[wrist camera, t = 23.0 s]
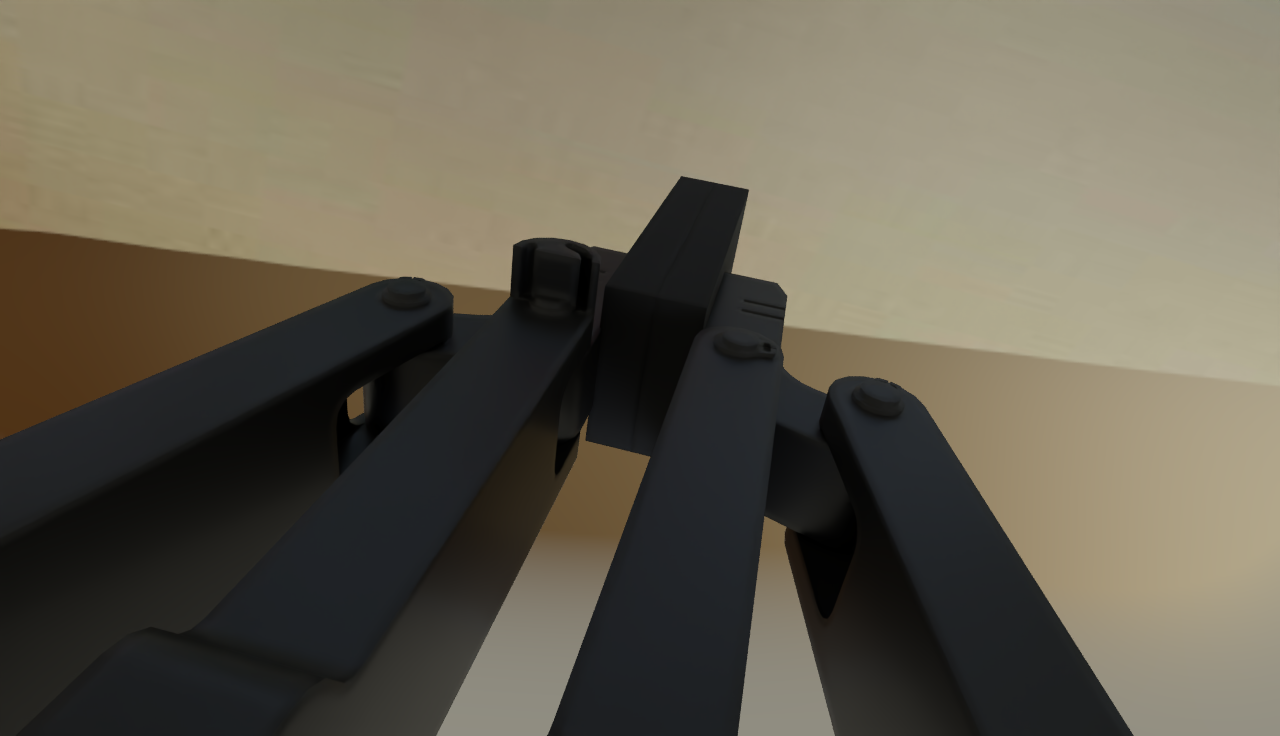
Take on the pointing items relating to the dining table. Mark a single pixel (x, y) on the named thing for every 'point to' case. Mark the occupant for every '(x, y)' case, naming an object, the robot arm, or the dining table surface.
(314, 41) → the dining table surface
